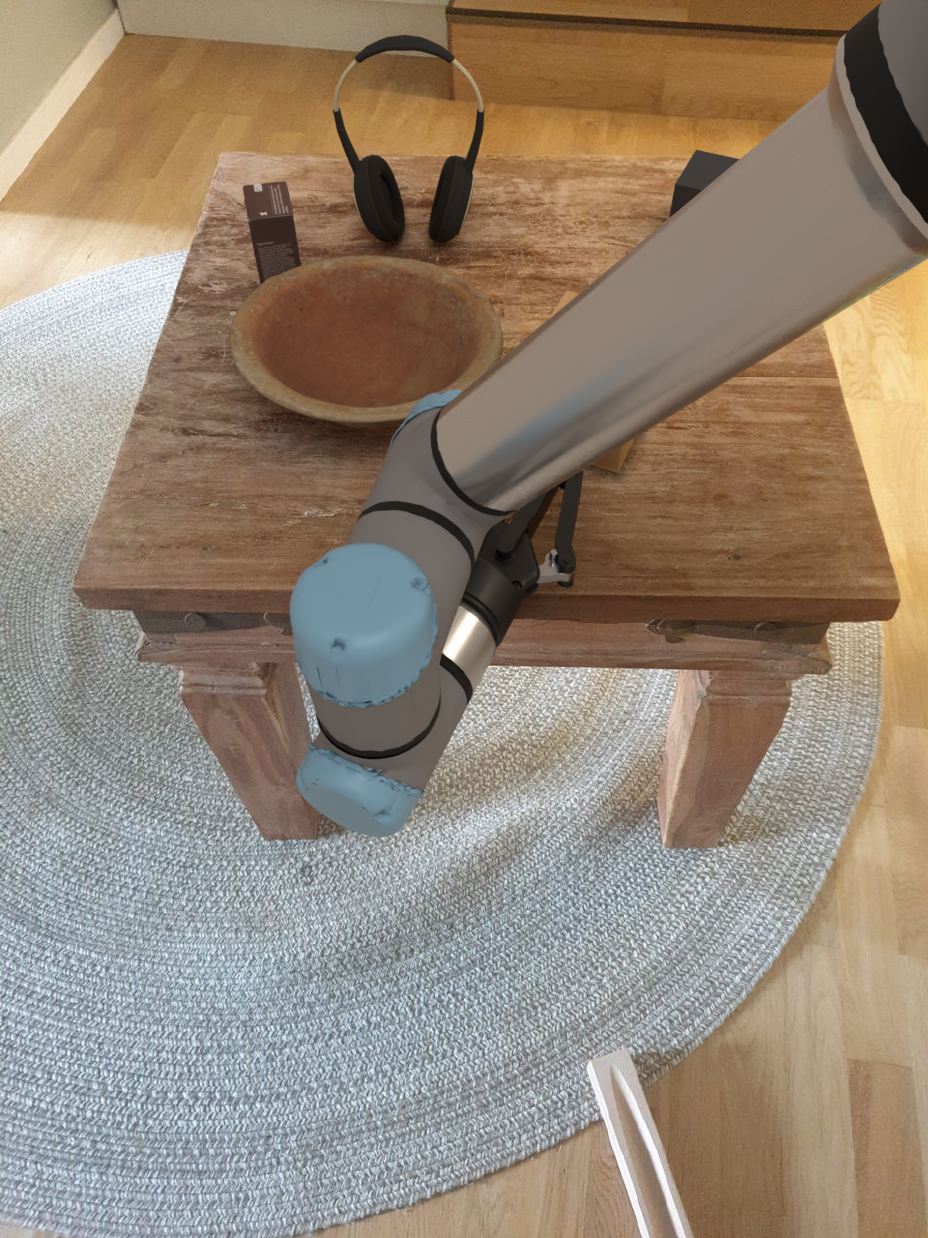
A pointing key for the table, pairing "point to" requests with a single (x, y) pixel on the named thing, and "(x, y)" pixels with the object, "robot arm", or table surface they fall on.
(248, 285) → the table surface
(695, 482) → the table surface
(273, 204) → the box
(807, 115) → the robot arm
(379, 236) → the headphones
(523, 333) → the table surface
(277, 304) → the bowl
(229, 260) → the table surface
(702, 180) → the block
